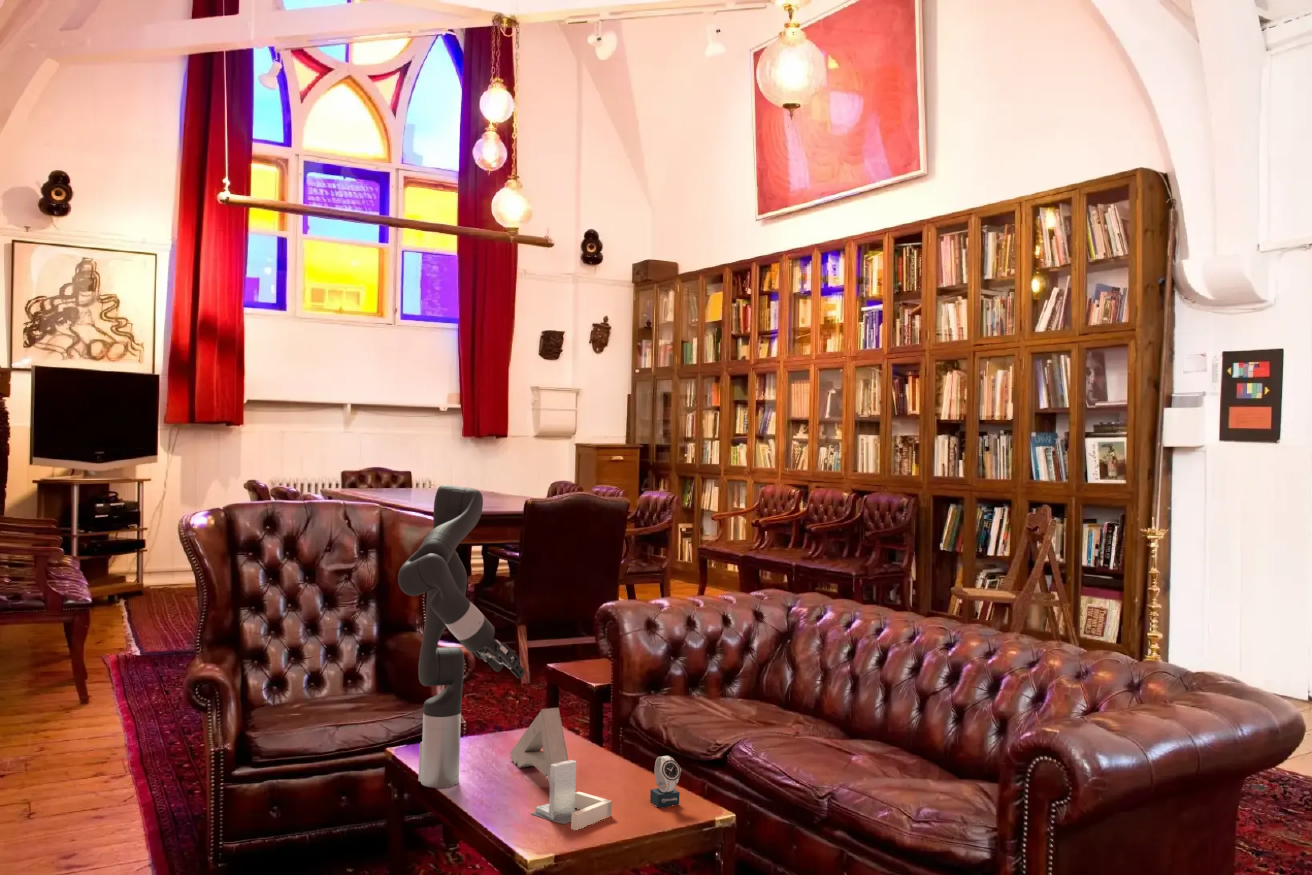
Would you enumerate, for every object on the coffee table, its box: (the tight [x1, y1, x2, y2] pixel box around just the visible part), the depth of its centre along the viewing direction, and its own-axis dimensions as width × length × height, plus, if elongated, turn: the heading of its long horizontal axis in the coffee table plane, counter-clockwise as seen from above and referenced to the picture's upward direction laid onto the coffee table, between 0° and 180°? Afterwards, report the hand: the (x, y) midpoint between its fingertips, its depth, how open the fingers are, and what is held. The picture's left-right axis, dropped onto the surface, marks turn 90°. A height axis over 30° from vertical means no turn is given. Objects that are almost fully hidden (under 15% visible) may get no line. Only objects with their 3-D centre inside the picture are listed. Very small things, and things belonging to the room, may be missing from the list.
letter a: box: [509, 707, 569, 788], centre depth 254 cm, size 22×4×30 cm
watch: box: [649, 755, 682, 809], centre depth 238 cm, size 6×8×11 cm
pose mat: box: [531, 810, 577, 825], centre depth 229 cm, size 10×8×1 cm
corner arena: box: [570, 791, 613, 831], centre depth 227 cm, size 10×12×4 cm
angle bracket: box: [535, 759, 577, 822], centre depth 229 cm, size 7×6×12 cm
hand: (511, 672), depth 226 cm, fingers open, 8 cm apart
